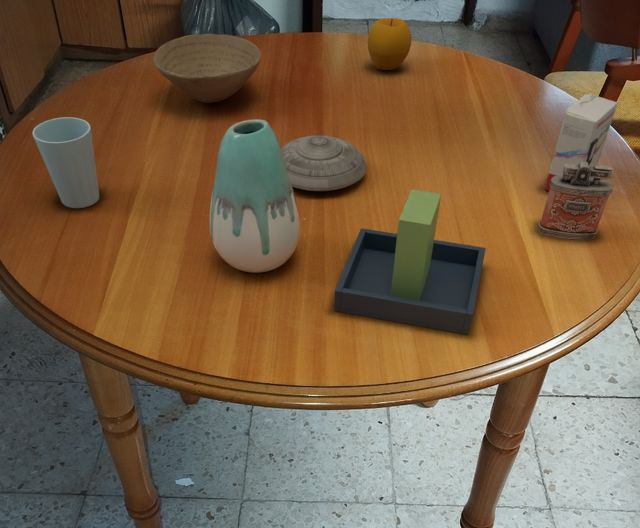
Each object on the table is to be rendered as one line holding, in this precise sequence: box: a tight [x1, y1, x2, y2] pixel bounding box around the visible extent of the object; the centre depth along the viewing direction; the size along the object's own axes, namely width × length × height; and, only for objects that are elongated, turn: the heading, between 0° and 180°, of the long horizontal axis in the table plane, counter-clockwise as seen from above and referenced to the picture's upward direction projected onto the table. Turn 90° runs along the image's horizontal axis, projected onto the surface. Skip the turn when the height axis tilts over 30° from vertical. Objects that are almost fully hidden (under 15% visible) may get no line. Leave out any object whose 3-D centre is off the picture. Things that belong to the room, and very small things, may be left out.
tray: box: [333, 227, 487, 336], centre depth 85 cm, size 17×14×3 cm
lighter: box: [536, 161, 614, 240], centre depth 92 cm, size 8×3×10 cm, turn 80°
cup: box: [32, 116, 100, 209], centre depth 96 cm, size 8×8×10 cm
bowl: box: [153, 33, 262, 104], centre depth 121 cm, size 18×18×8 cm
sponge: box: [391, 189, 442, 301], centre depth 82 cm, size 4×7×11 cm, turn 163°
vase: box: [209, 118, 301, 274], centre depth 84 cm, size 12×12×18 cm
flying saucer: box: [281, 134, 368, 192], centre depth 104 cm, size 15×15×6 cm
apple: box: [367, 17, 413, 71], centre depth 130 cm, size 8×8×9 cm
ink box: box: [544, 93, 618, 192], centre depth 100 cm, size 9×5×12 cm, turn 143°
